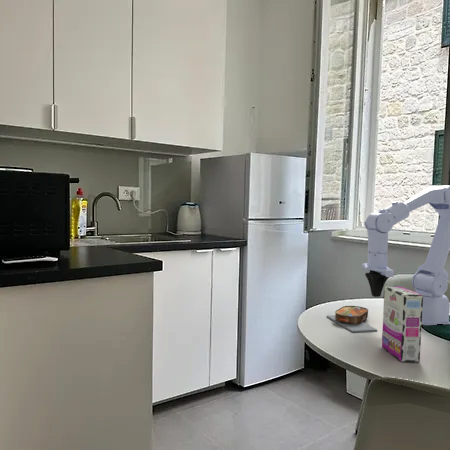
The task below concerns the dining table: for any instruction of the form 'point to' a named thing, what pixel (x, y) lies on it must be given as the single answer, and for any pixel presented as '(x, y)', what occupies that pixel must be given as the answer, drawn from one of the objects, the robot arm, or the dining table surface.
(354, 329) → the pad
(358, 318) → the tin
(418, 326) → the candy bar box
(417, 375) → the dining table surface
